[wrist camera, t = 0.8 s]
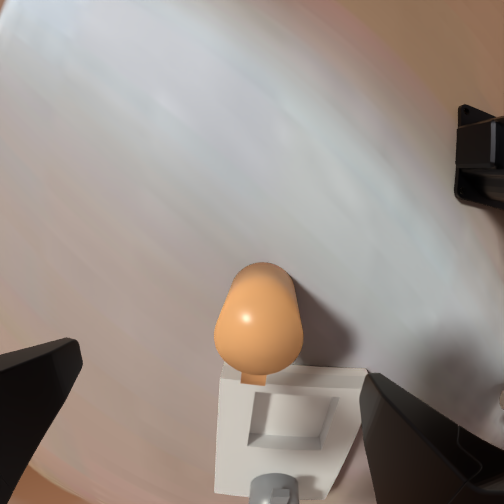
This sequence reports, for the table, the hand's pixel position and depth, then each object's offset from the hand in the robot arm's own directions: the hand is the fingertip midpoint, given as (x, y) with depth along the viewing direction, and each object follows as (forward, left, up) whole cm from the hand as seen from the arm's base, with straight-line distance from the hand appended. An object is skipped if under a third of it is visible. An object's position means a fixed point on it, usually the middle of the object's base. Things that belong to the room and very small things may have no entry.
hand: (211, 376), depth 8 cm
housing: (-4, +13, -11) cm, 18 cm away
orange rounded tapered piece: (-1, +1, -11) cm, 11 cm away
